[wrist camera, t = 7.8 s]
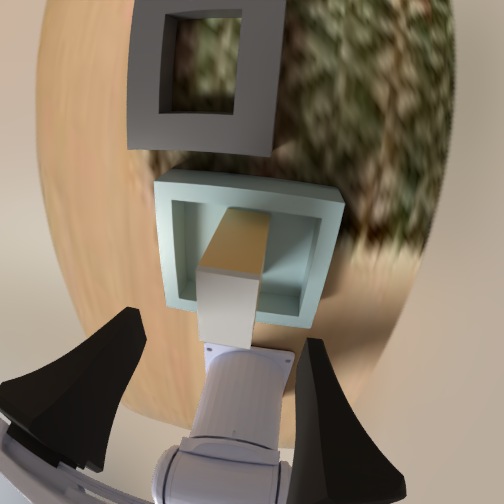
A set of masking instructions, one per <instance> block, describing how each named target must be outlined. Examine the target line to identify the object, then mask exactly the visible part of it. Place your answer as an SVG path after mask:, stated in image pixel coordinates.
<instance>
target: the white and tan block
mask: <svg viewBox="0 0 504 504" xmlns="http://www.w3.org/2000/svg"><path fill="white" fill-rule="evenodd" d="M270 216H271V214H267V213H259V212H252V211H244V210H236V209H228V208H227V210H226V212H225V214H224V215H223V217H222V219H221V221H220V223H219V225H218V227H217V229H216V231H215V233H214V235H213V237H212V239H211V241H210V243H209V245H208V246H207V248H206V250H205V252H204V254H203V256H202V258H201V260H200V262H199V264H198V266H197V268H196V270H195V274H196V296H197V315H198V330H199V340H200V341H205V342H210V343H215V344H221V345H227V346H233V347H239V348H245V349H250V347H251V342H252V336H253V330H254V324H255V318H256V312H257V306H258V300H259V295H260V289H261V282H262V276H263V269H264V262H265V255H266V247H267V239H268V232H269V224H270Z"/></svg>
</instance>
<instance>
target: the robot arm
mask: <svg viewBox="0 0 504 504" xmlns="http://www.w3.org/2000/svg"><path fill="white" fill-rule="evenodd" d="M146 341H147V338H146V335H145V331H144V327H143V323H142V319H141V315H140V311H139V309H136V308H132V307H126V308H125V309H123V310H122V311H121V312H120V313H119V314H117V315H116V316H115V317H114V318H113V319H111V320H110V321H109V322H108V323H107V324H105V325H104V326H103V327H102V328H100V329H99V330H98V331H97V332H96V333H94V334H93V335H92V336H91V337H89V338H88V339H87V340H85V341H84V342H83V343H81V344H80V345H79V346H77V347H76V348H75V349H73V350H72V351H70V352H69V353H67V354H65V355H64V356H62V357H61V358H59V359H57V360H56V361H54V362H52V363H50V364H48V365H46V366H44V367H42V368H40V369H38V370H36V371H34V372H32V373H29V374H26V375H24V376H21V377H18V378H15V379H12V380H8V381H5V382H2V383H1V385H0V412H1V413H3V414H4V416H6V417H7V418H8V419H9V420H10V421H11V424H10V425H8V424H7V423H6V422H5V421H4V420H2V419H1V418H0V473H1V474H2V475H3V476H4V477H5V478H6V479H7V480H8V481H9V482H10V483H11V484H12V485H13V486H14V487H15V488H16V489H17V490H18V491H19V492H20V493H21V494H22V495H23V496H25V498H27V499H28V500H29V501H30V502H31V503H32V504H109V503H107V502H105V501H102V500H100V499H98V498H96V497H93V496H91V495H89V494H86V492H85V490H84V488H86V489H87V490H89V491H92V492H94V493H95V494H98V495H100V496H102V497H104V498H106V499H109V500H111V501H113V502H115V503H118V504H391V503H393V502H397V501H399V500H402V499H404V498H405V497H406V496H407V495H406V484H405V480H404V476H403V475H402V474H401V473H400V472H399V471H398V470H397V469H396V468H395V467H394V466H393V465H392V464H391V463H390V461H389V460H388V459H387V458H386V457H385V456H384V455H383V454H382V452H381V451H380V450H379V449H378V447H377V446H376V445H375V444H374V442H373V441H372V439H371V438H370V437H369V435H368V434H367V433H366V431H365V430H364V428H363V427H362V425H361V424H360V422H359V420H358V419H357V417H356V415H355V414H354V412H353V410H352V408H351V407H350V405H349V403H348V401H347V399H346V397H345V395H344V393H343V391H342V389H341V387H340V384H339V382H338V380H337V377H336V375H335V373H334V370H333V368H332V365H331V363H330V360H329V357H328V355H327V352H326V349H325V346H324V342H323V340H322V339H315V338H307V339H306V342H305V345H304V348H303V351H302V354H301V357H300V359H299V362H298V365H297V373H296V384H295V405H296V441H295V450H294V459H293V466H292V467H291V466H290V465H289V463H288V462H287V461H280V462H279V458H280V451H277V450H278V440H279V430H280V419H281V408H282V396H283V391H284V388H285V385H286V383H287V380H288V377H289V374H290V371H291V368H292V365H293V362H294V359H295V354H294V353H293V352H290V351H282V350H274V349H266V348H259V347H252V346H251V347H250V349H245V348H239V347H233V346H227V345H221V344H215V343H210V342H205V343H204V354H205V367H206V379H205V383H204V386H203V390H202V393H201V397H200V400H199V404H198V407H197V411H196V415H195V418H194V422H193V425H192V429H191V432H190V436H189V438H186V437H183V438H182V441H181V444H180V446H178V445H174V446H172V447H170V448H169V449H168V450H166V451H165V452H164V453H163V454H162V455H161V457H160V458H159V460H158V463H157V465H156V468H155V471H154V474H153V479H152V496H153V499H154V502H155V503H151V502H148V501H146V500H143V499H140V498H137V497H134V496H132V495H129V494H126V493H124V492H122V491H119V490H117V489H114V488H112V487H109V486H107V485H105V484H103V483H101V482H99V481H97V480H94V479H92V478H90V477H88V476H86V475H84V474H82V473H81V472H79V471H77V470H76V467H79V468H81V469H84V468H85V467H86V468H88V469H90V470H92V471H94V472H96V473H99V472H102V471H103V468H104V461H105V455H106V449H107V444H108V440H109V435H110V431H111V428H112V424H113V420H114V417H115V414H116V411H117V408H118V405H119V402H120V400H121V398H122V395H123V393H124V391H125V389H126V387H127V385H128V383H129V381H130V379H131V377H132V375H133V373H134V371H135V369H136V367H137V365H138V363H139V360H140V358H141V355H142V353H143V350H144V347H145V344H146ZM83 487H84V488H83Z"/></svg>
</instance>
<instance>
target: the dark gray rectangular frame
mask: <svg viewBox="0 0 504 504" xmlns="http://www.w3.org/2000/svg"><path fill="white" fill-rule="evenodd" d="M286 10H287V0H135V2H134V9H133V16H132V25H131V34H130V44H129V57H128V75H127V148H128V150H134V149H141V150H184V151H203V152H218V153H231V154H242V155H252V156H261V157H271V154H272V151H273V142H274V133H275V123H276V113H277V104H278V94H279V84H280V74H281V63H282V53H283V43H284V32H285V21H286ZM202 18H242V21H241V31H240V41H239V52H238V63H237V75H236V87H235V100H234V113H232V112H210V111H172V88H173V70H174V56H175V44H176V33H177V24H178V21H179V20H189V19H202Z"/></svg>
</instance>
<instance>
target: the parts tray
mask: <svg viewBox="0 0 504 504" xmlns="http://www.w3.org/2000/svg"><path fill="white" fill-rule="evenodd" d="M154 192H155V208H156V221H157V232H158V242H159V252H160V261H161V269H162V277H163V284H164V291H165V298H166V305H167V307H172V308H177V309H182V310H187V311H193V312H197V296H196V274H195V270H196V268H197V266H198V264H199V262H200V260H201V258H202V256H203V254H204V252H205V250H206V248H207V246H208V245H209V243H210V241H211V239H212V237H213V235H214V233H215V231H216V229H217V227H218V225H219V223H220V221H221V219H222V217H223V215H224V214H225V212H226V210H227V208H228V209H236V210H244V211H252V212H259V213H267V214H271V216H270V224H269V232H268V239H267V247H266V255H265V262H264V269H263V276H262V282H261V289H260V295H259V300H258V306H257V312H256V318H255V322H260V323H267V324H275V325H283V326H291V327H299V328H308V329H311V326H312V323H313V320H314V316H315V313H316V310H317V307H318V304H319V300H320V297H321V294H322V290H323V287H324V283H325V280H326V276H327V273H328V269H329V266H330V262H331V258H332V254H333V251H334V247H335V243H336V239H337V235H338V231H339V227H340V223H341V219H342V214H343V210H344V206H345V202H344V200H343V198H342V196H341V194H340V191H339V189H338V188H337V187H331V186H325V185H319V184H313V183H306V182H299V181H292V180H285V179H278V178H270V177H262V176H253V175H244V174H234V173H224V172H212V171H200V170H186V169H170V170H169V171H167V172H166V173H165V174H163V175H162V176H160V177H159V178H158V179H156V180H155V181H154Z"/></svg>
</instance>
